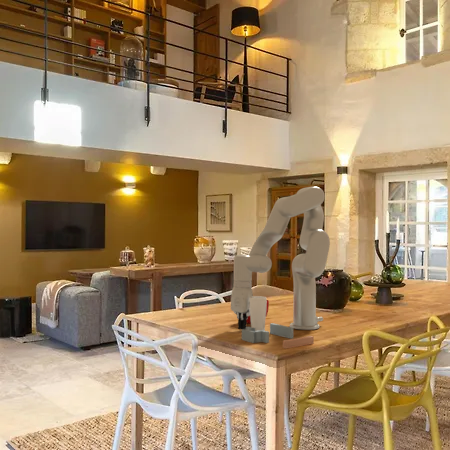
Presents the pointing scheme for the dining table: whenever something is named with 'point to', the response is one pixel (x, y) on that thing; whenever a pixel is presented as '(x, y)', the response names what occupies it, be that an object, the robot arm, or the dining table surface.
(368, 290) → the dining table surface
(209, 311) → the dining table surface
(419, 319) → the dining table surface
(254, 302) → the drinking glass
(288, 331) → the channel
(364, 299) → the dining table surface
